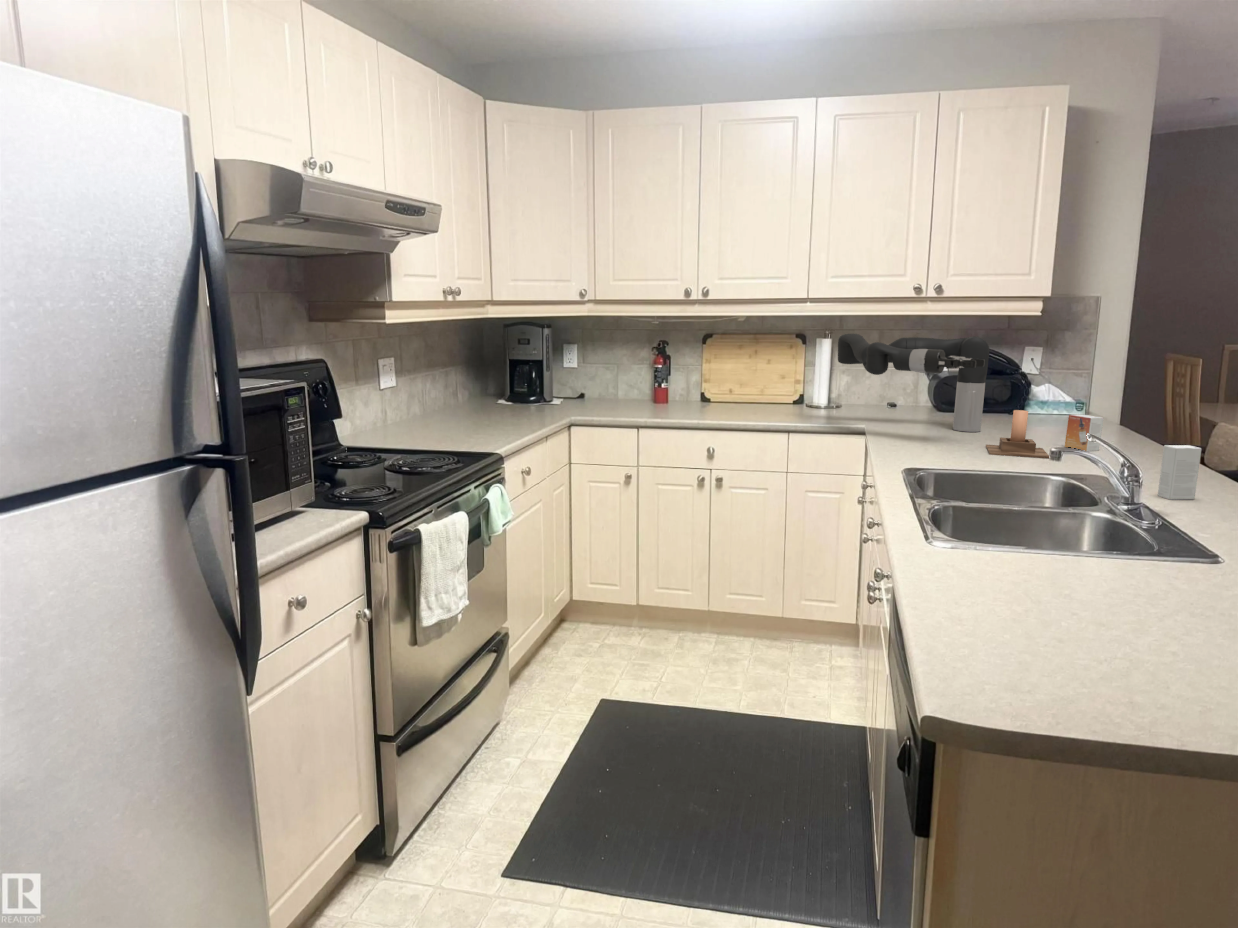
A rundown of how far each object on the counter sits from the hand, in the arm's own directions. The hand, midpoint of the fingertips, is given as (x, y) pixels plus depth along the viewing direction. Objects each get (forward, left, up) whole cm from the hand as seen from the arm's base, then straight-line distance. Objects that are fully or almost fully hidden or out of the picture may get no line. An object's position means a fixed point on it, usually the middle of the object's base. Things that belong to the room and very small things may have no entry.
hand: (980, 363), depth 246 cm
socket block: (+4, +12, -26) cm, 29 cm away
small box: (-12, +32, -26) cm, 43 cm away
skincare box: (+57, +40, -26) cm, 75 cm away
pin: (+4, +12, -25) cm, 28 cm away
